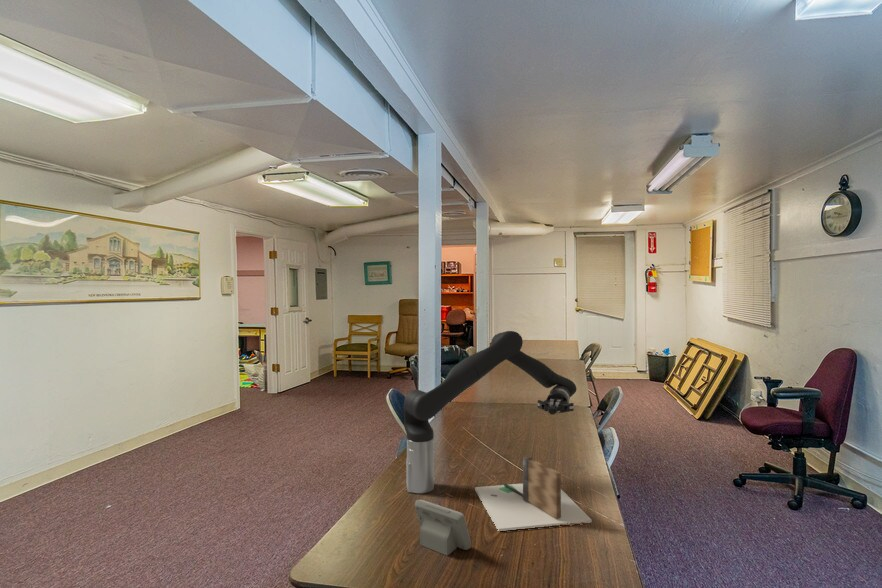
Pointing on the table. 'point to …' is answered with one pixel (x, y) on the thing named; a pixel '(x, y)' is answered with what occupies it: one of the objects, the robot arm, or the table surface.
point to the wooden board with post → (541, 487)
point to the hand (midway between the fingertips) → (552, 411)
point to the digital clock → (441, 528)
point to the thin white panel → (524, 509)
